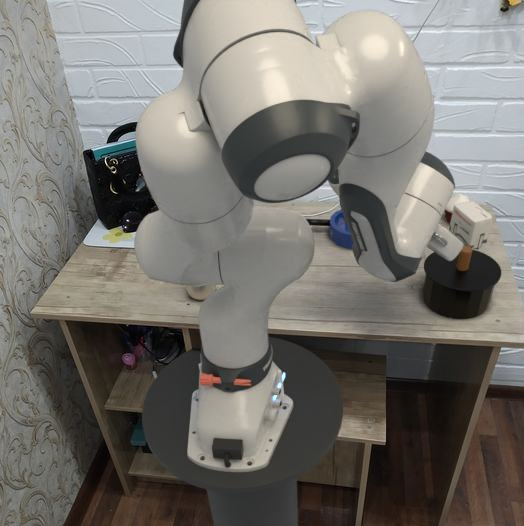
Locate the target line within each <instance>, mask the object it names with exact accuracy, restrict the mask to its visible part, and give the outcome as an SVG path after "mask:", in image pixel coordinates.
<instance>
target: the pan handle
mask: <svg viewBox="0 0 524 526" xmlns="http://www.w3.org/2000/svg"><path fill="white" fill-rule="evenodd" d="M305 219H306V220H307V222H308V223H309V225H310V226H313V227H314V226H315V227H316V226H317V227H330V219H325V218H324V219H321V218H318V219H317V218H305Z"/></svg>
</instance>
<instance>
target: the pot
mask: <svg viewBox="0 0 524 526" xmlns="http://www.w3.org/2000/svg"><path fill="white" fill-rule="evenodd" d="M495 286H496V285H494V286H493V287H491V288H489V289H486V290H483V291H478V292H459V291H454V290H450V289H446V288H444V287H441V286H439V285H437V284H436V283H434V282H433V281H432V280H430V279H429V278H428V277H427V275H426V274H425V275H424V282H423V287H422V300H423V302H424V304H425V305H426V308H428V309H430V311H432V312H434V313H435V314H437V315H439V316H442V317H445V318H449V319H455V320H467V319H468V320H469V319H473V318H476V317H479V316H481V315H482V314H484V313H485V312H486V311H487V310H488V307H489V306H490V303H491V300H492V297H493V293H494V289H495Z"/></svg>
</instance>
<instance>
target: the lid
mask: <svg viewBox="0 0 524 526" xmlns="http://www.w3.org/2000/svg"><path fill="white" fill-rule="evenodd" d="M423 271H424V274H425V275H427V277H428V278H429V279H430V280H432V281H433V282H434V283H436V284H437V285H439V286H441V287H444V288H446V289H450V290H454V291H459V292H478V291H483V290H486V289H489V288H491V287H493V286H494V285H495V286H497V284H498V283H499V282H500V280H501V277H502V269H501V266H500V264H499V262H497V260H495V259H494V258H493V257H492V256H491V255H488V254H486V253H485V252H484V253H482V252H479V251H476V250H473V249H472V248H471V247H469V246H463V248H462V250H461V251H460V253H459V254H458V255H457V256H456V257H455V258H454V259H453V260H452V261H448V260H446V259H444V258H443V257H441V256H440V255H438V254H437V253H435V252H434V251H432V253H430V254H429V255H428V256H427V257H426V258H425V260H424V263H423ZM495 286H494V287H495Z"/></svg>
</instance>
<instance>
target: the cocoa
mask: <svg viewBox="0 0 524 526" xmlns="http://www.w3.org/2000/svg"><path fill="white" fill-rule="evenodd" d="M468 201H471V200H470V197H469V196H468V195H466V194H463V193H460V192H459V193H458V192H457V193H454V194H452V196H451V198H450V200H449V202H448V205H447V207H446V209H445V211H444V217H445V220H446V221H447V222H448V223H450V222H451V218H452V213H453V208H454V205H455V204H459V203H463V202H468Z"/></svg>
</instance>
